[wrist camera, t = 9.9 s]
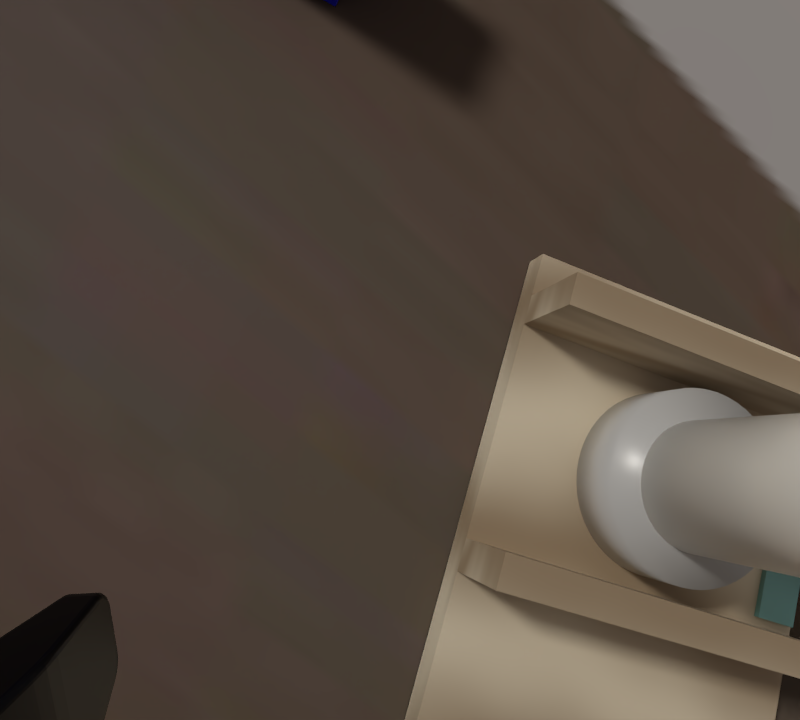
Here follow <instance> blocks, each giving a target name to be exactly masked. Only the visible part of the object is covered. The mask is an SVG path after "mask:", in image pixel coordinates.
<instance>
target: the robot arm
mask: <svg viewBox="0 0 800 720" xmlns="http://www.w3.org/2000/svg"><path fill="white" fill-rule="evenodd" d="M117 666H118V654H117V647H116V641H115V635H114V628H113V622H112V616H111V610H110V605H109V602H108V600H107V597H106V596H105V595H103V594H102V593H86V594H69V595H66V596H64V597H62V598H60V599H59V600H57V601H56V602H54V603H53V604H51V605H50V606H48V607H47V608H45V609H44V610H42V611H40V612H39V613H37V614H36V615H34V616H33V617H31V618H30V619H28V620H27V621H25V622H24V623H22V624H21V625H19V626H18V627H16V628H15V629H13V630H11V631H10V632H8V633H7V634H5V635H4V636H2V637H1V638H0V720H104V718H105V715H106V711H107V707H108V704H109V700H110V696H111V693H112V689H113V685H114V682H115V678H116V673H117Z"/></svg>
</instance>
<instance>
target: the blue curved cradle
mask: <svg viewBox="0 0 800 720" xmlns="http://www.w3.org/2000/svg"><path fill="white" fill-rule="evenodd" d="M324 1H326V2H328V3H330V4H331V5H333V6H335V7H336V5H337V3H338V1H339V0H324Z"/></svg>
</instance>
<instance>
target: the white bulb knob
mask: <svg viewBox="0 0 800 720" xmlns="http://www.w3.org/2000/svg"><path fill="white" fill-rule="evenodd" d="M576 485H577V497H578V502H579V507H580V510H581V514H582V517H583V520H584V522H585V524H586V526H587V529H588V531H589V533H590V534H591V536H592V538H593V539H594V541H595V542H596V544H597V545H598V546H599V547H600V549H601V550H602V551H603V552H604V553H605V554H606V555H607V556H608V557H609V558H610V559H611V560H613V561H614V562H615V563H617V564H618V565H619V566H621V567H623V568H624V569H626V570H628V571H630V572H633V573H635V574H638V575H641V576H644V577H648V578H651V579H654V580H658V581H661V582H665V583H668V584H671V585H675V586H678V587H682V588H687V589H691V590H710V589H716V588H720V587H724V586H727V585H729V584H731V583H733V582H736V581H737V580H739V579H740V578H742V577H744V576H745V575H746V574H748V573H749V572H750V571H751V570H752V569H753V568H758V569H762V570H767V571H771V572H776V573H781V574H785V575H790V576H794V577H799V578H800V413H794V414H779V415H765V416H752V415H751V414H750V413H749V412H748V411H747V410H746V409H745V408H743V407H742V406H741V405H740V404H738V403H737V402H735V401H734V400H732V399H730V398H729V397H727V396H725V395H722V394H720V393H718V392H715V391H711V390H707V389H701V388H682V389H674V390H667V391H660V392H653V393H646V394H640V395H635V396H632V397H629V398H626V399H624V400H622V401H620V402H618V403H616V404H615V405H614V406H612V407H611V408H609V409H608V410H607V411H606V412H605V413H604V414H603V415H602V416H601V417H600V418H599V419H598V420H597V421H596V423H595V424H594V425H593V427H592V428H591V430H590V432H589V433H588V435H587V437H586V439H585V442H584V444H583V446H582V449H581V453H580V456H579V461H578V467H577V480H576Z"/></svg>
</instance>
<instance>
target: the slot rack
mask: <svg viewBox="0 0 800 720" xmlns="http://www.w3.org/2000/svg"><path fill="white" fill-rule="evenodd" d="M682 388H701V389H707V390H711V391H715V392H718V393H720V394H722V395H725V396H727V397H729V398H730V399H732V400H734V401H735V402H737V403H738V404H740V405H741V406H742V407H743V408H745V409H746V410H747V411H748V412H749V413H750V414H751V415H752V416H765V415H779V414H794V413H800V358H799V357H797V356H794V355H792V354H789V353H787V352H784V351H782V350H779V349H777V348H775V347H772V346H770V345H767V344H765V343H762V342H760V341H757V340H755V339H752V338H750V337H747V336H745V335H742V334H740V333H737V332H735V331H732V330H730V329H727V328H725V327H723V326H720V325H718V324H715V323H713V322H710V321H708V320H705V319H703V318H700V317H698V316H695V315H693V314H690V313H688V312H685V311H683V310H680V309H678V308H675V307H673V306H671V305H668V304H666V303H663V302H661V301H658V300H656V299H653V298H651V297H648V296H646V295H643V294H641V293H638V292H636V291H633V290H631V289H628V288H626V287H623V286H621V285H619V284H616V283H614V282H611V281H609V280H606V279H604V278H601V277H599V276H596V275H594V274H591V273H589V272H586V271H584V270H581V269H579V268H576V267H574V266H571V265H569V264H567V263H564V262H562V261H559V260H557V259H554V258H552V257H549V256H547V255H544V254H542V255H541V256H539V257H537V258H536V259H534V260H533V261H531V262H530V263H529V267H528V271H527V274H526V278H525V282H524V285H523V289H522V293H521V296H520V300H519V304H518V307H517V311H516V315H515V318H514V322H513V326H512V329H511V333H510V337H509V340H508V344H507V348H506V351H505V355H504V359H503V362H502V366H501V369H500V373H499V377H498V380H497V384H496V388H495V391H494V395H493V399H492V402H491V406H490V410H489V413H488V417H487V421H486V424H485V428H484V432H483V435H482V439H481V443H480V446H479V450H478V454H477V457H476V461H475V465H474V468H473V472H472V475H471V479H470V483H469V486H468V490H467V494H466V497H465V501H464V505H463V508H462V512H461V516H460V519H459V523H458V527H457V530H456V534H455V538H454V541H453V545H452V549H451V552H450V556H449V560H448V563H447V567H446V571H445V574H444V578H443V582H442V585H441V589H440V592H439V596H438V600H437V603H436V607H435V611H434V614H433V618H432V622H431V625H430V629H429V633H428V636H427V640H426V644H425V647H424V651H423V655H422V658H421V662H420V666H419V669H418V673H417V677H416V680H415V684H414V688H413V691H412V695H411V698H410V702H409V706H408V709H407V713H406V717H405V720H775V717H776V711H777V705H778V699H779V693H780V687H781V681H782V675H783V674H786V675H789V676H792V677H796V678H799V679H800V640H799V639H796V638H793V637H790V636H789V633H790V627H792V628H793V624H794V618H795V612H796V606H797V600H798V594H799V588H800V578H799V577H794V576H790V575H785V574H781V573H776V572H771V571H767V570H762V569H758V568H753V569H752V570H751V571H750V572H749V573H748V574H746V575H745V576H744V577H742V578H740V579H739V580H737V581H736V582H733V583H731V584H729V585H727V586H724V587H720V588H716V589H710V590H691V589H687V588H682V587H678V586H675V585H671V584H668V583H665V582H661V581H658V580H654V579H651V578H648V577H644V576H641V575H638V574H635V573H633V572H630V571H628V570H626V569H624V568H623V567H621V566H619V565H618V564H617V563H615V562H614V561H613V560H611V559H610V558H609V557H608V556H607V555H606V554H605V553H604V552H603V551H602V550H601V549H600V547H599V546H598V545H597V544H596V542H595V541H594V539H593V538H592V536H591V534H590V533H589V531H588V529H587V526H586V524H585V522H584V520H583V517H582V514H581V510H580V507H579V502H578V497H577V485H576V480H577V467H578V461H579V456H580V453H581V449H582V446H583V444H584V442H585V439H586V437H587V435H588V433H589V432H590V430H591V428H592V427H593V425H594V424H595V423H596V421H597V420H598V419H599V418H600V417H601V416H602V415H603V414H604V413H605V412H606V411H607V410H608V409H609V408H611V407H612V406H614V405H615V404H616V403H618V402H620V401H622V400H624V399H626V398H629V397H632V396H635V395H640V394H646V393H653V392H660V391H667V390H674V389H682Z"/></svg>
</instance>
